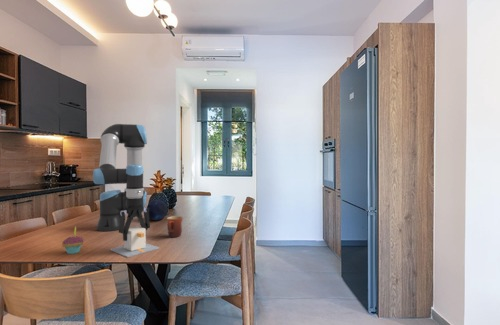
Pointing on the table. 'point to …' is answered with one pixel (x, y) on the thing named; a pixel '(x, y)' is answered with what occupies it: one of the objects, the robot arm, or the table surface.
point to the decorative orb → (157, 210)
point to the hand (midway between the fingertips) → (134, 245)
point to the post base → (129, 253)
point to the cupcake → (73, 243)
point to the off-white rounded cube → (136, 238)
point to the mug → (174, 226)
